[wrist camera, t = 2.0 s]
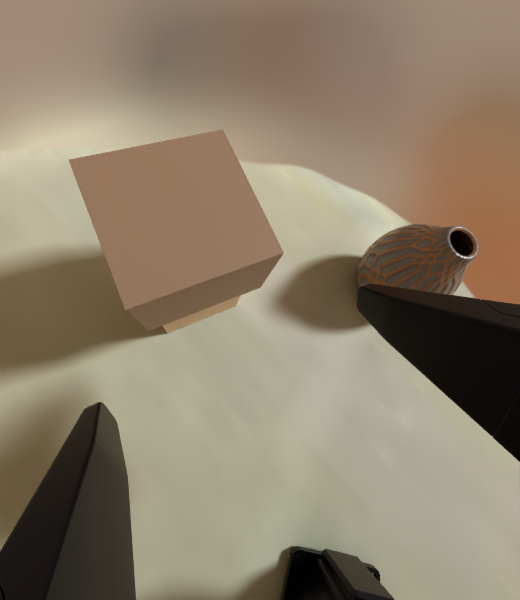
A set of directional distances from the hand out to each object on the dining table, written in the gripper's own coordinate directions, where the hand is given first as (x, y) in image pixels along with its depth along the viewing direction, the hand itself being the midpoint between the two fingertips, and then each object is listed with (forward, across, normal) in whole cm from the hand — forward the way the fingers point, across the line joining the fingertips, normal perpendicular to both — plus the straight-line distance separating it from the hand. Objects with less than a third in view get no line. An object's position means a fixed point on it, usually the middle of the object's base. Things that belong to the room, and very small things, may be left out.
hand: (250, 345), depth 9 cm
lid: (+9, 0, 0) cm, 9 cm away
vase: (+10, -16, +9) cm, 21 cm away
